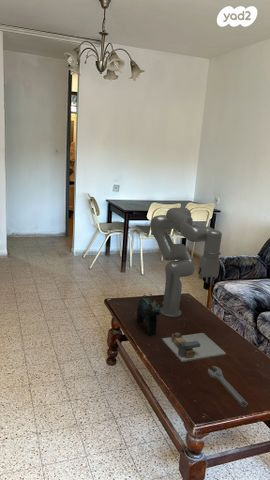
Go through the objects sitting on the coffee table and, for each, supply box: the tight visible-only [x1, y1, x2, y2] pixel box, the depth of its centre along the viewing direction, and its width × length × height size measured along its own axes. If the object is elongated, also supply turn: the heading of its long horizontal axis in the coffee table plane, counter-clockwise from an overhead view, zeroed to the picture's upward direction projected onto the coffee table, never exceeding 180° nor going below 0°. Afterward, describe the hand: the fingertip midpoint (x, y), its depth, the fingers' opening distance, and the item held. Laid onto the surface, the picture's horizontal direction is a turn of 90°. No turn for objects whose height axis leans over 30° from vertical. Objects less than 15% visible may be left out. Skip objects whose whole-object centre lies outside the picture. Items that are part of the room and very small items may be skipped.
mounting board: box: [161, 332, 226, 363], centre depth 176 cm, size 20×24×6 cm
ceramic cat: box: [136, 293, 161, 336], centre depth 189 cm, size 20×6×20 cm, turn 22°
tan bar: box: [171, 332, 195, 357], centre depth 173 cm, size 17×4×4 cm, turn 18°
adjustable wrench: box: [207, 365, 249, 409], centre depth 148 cm, size 25×6×2 cm, turn 15°
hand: (206, 289), depth 185 cm, fingers closed
